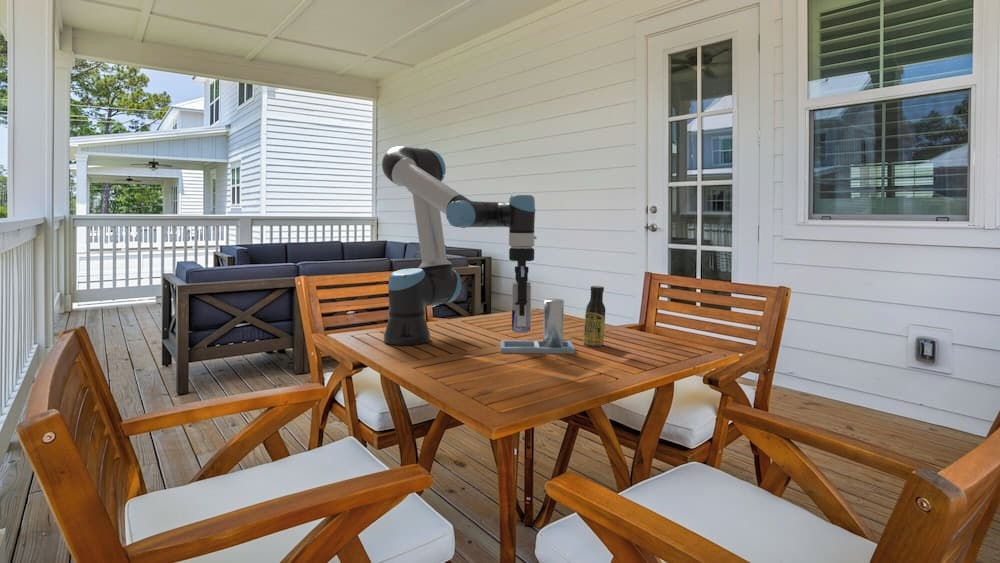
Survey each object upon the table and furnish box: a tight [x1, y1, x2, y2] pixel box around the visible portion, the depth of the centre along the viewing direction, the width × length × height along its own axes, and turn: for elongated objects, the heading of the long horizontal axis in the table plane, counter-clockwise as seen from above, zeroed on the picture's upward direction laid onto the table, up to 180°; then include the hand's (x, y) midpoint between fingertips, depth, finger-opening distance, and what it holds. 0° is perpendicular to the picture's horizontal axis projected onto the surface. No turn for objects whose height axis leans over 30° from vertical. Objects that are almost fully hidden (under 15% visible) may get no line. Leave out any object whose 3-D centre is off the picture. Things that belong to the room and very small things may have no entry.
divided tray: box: [499, 339, 576, 354], centre depth 166 cm, size 22×10×3 cm, turn 91°
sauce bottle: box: [583, 285, 606, 348], centre depth 171 cm, size 6×6×20 cm
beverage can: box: [511, 281, 532, 334], centre depth 164 cm, size 6×6×15 cm
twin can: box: [542, 298, 565, 348], centre depth 165 cm, size 6×6×15 cm
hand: (520, 323), depth 165 cm, fingers closed on beverage can, 5 cm apart
